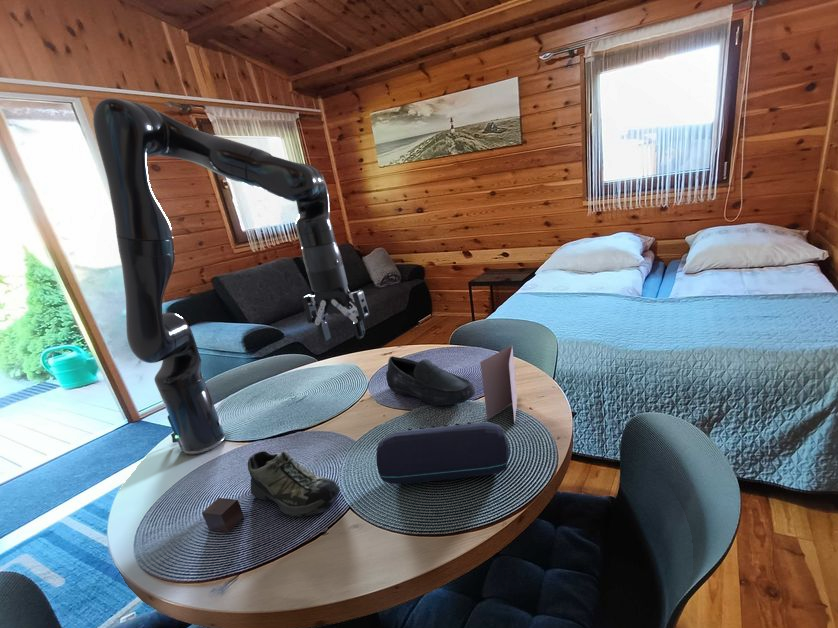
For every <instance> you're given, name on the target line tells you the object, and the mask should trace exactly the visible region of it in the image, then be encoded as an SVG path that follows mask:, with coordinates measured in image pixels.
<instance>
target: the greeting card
mask: <svg viewBox="0 0 838 628" xmlns="http://www.w3.org/2000/svg"><path fill="white" fill-rule="evenodd" d="M513 349H514V347H513V345H510V346H508V347H506V348H504V349H502V350H500V351H499V352H498V351H497V352H496V353H494V354H492V355H491V356H489V357H486V358H485V359H483V360H481V361H479V364H480V372H481V379H482V390H483V396H484V405H485V413H486V420H487V421H489V420H490V419H491V418H493V417H495V416H496V415H498V414H499V413H500V412H502V411H503V410H505V409H506V408H507V407H509V406H511V405H512V413H513V424H514V425H515V424H516V414H517V405H518V394H517V382H516V371H515V359H514V350H513Z"/></svg>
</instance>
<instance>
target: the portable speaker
mask: <svg viewBox="0 0 838 628" xmlns="http://www.w3.org/2000/svg"><path fill="white" fill-rule="evenodd" d="M508 440H509V439H508V437H507V435H506V433H505V431H504V428H503V427H502V425H499V424H497V423H492V422H490V421H483V422H481V421H480V422H474V423H472V422H471V421H469V422H468V421H467V422H466V423H462V424H460V423H455V424H453V425H448V424H443V425H442V426H436V425H432V426H431V427H422V426H421V427H419V428H418V429H417V428H415V429H413V428H408V429H406V430H398V431H393V432H391V433H389V434H387V435H386V436H384V437H382V438H381V439H380V441H379V442H378V444H377V447H376V452H375V453H376V454H375V455H376V467H377V472H378V474H379V477H380V479H381V480H382V481H383V482H384V483H386V484H395V485H396V484H397V485H407V484H417V483H418V484H419V483H426V482H436V481H447V480H455V479H456V480H457V479H464V478H474V477H482V476H483V477H484V476H491V475H495V474H499V473H502V472H504V471H506V469H507V467H508V460H509V457H510V447H509V441H508Z"/></svg>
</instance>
